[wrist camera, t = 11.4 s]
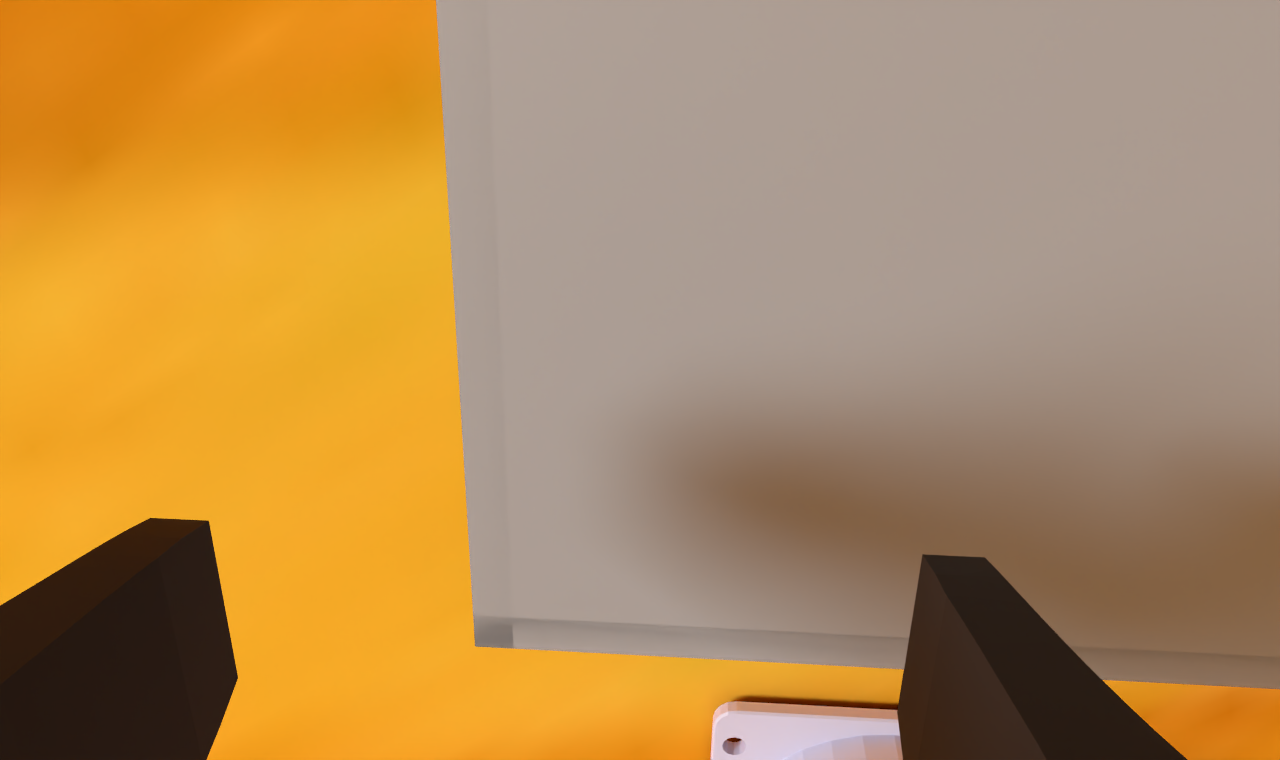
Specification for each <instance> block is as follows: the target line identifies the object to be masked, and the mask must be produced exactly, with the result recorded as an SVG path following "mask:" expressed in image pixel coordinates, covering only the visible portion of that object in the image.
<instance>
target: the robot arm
mask: <svg viewBox="0 0 1280 760" xmlns="http://www.w3.org/2000/svg"><path fill="white" fill-rule="evenodd" d="M237 679H238V676H237V670H236V665H235V659H234V654H233V649H232V643H231V638H230V633H229V627H228V622H227V617H226V611H225V606H224V601H223V595H222V590H221V584H220V579H219V574H218V568H217V563H216V558H215V552H214V547H213V542H212V536H211V531H210V525H209V521H202V520H181V519H159V518H150V519H148V520H146V521H144V522H142V523H140V524H138V525H136V526H134V527H132V528H130V529H128V530H126V531H124V532H123V533H121V534H119V535H117V536H116V537H114V538H112V539H110V540H109V541H107V542H105V543H103V544H102V545H100V546H98V547H97V548H95V549H93V550H92V551H90V552H88V553H87V554H85V555H83V556H82V557H80V558H78V559H77V560H75V561H73V562H72V563H70V564H68V565H67V566H65V567H63V568H62V569H60V570H59V571H57V572H55V573H54V574H52V575H50V576H49V577H47V578H45V579H44V580H42V581H40V582H39V583H37V584H35V585H34V586H32V587H31V588H29V589H27V590H26V591H24V592H22V593H21V594H19V595H17V596H16V597H14V598H12V599H11V600H9V601H7V602H6V603H4V604H2V605H1V606H0V760H206V759H207V757H208V754H209V752H210V749H211V747H212V745H213V742H214V740H215V737H216V735H217V732H218V730H219V727H220V725H221V722H222V719H223V717H224V714H225V711H226V709H227V706H228V703H229V700H230V698H231V695H232V692H233V690H234V687H235V684H236V682H237ZM733 737H736V738H740V739H742V740H741V741H739V742H730V741H727V739H728V738H733ZM710 760H1187V759H1186V758H1185V757H1184V756H1183V755H1182V754H1180V753H1179V752H1178V751H1177V750H1176V749H1175V748H1174V747H1173V746H1171V745H1170V744H1169V743H1168V742H1167V741H1166V740H1165V739H1164V738H1162V737H1161V736H1160V735H1159V734H1158V733H1157V732H1156V731H1155V730H1153V729H1152V728H1151V727H1150V726H1149V725H1148V724H1147V723H1146V722H1145V721H1144V720H1143V719H1142V718H1141V717H1140V716H1139V715H1138V714H1137V713H1135V712H1134V711H1133V710H1132V709H1131V708H1130V707H1129V706H1128V705H1127V704H1126V703H1125V702H1124V701H1123V700H1122V699H1121V698H1120V697H1119V696H1118V695H1117V694H1116V693H1115V692H1114V691H1113V690H1112V689H1111V688H1110V687H1109V686H1107V685H1106V684H1105V683H1104V682H1103V680H1102V679H1101V678H1100V677H1099V676H1098V675H1097V674H1096V673H1095V672H1094V671H1093V670H1092V669H1091V668H1090V667H1089V666H1088V665H1087V664H1086V663H1085V662H1084V661H1083V660H1082V659H1081V658H1080V657H1079V656H1078V655H1077V654H1076V653H1075V652H1074V651H1073V650H1072V649H1071V648H1070V647H1069V646H1068V645H1067V644H1066V643H1065V642H1064V641H1063V640H1062V639H1061V638H1060V637H1059V635H1058V634H1057V633H1056V632H1055V631H1054V630H1053V629H1052V628H1051V627H1050V626H1049V625H1048V624H1047V623H1046V622H1045V621H1044V620H1043V619H1042V618H1041V616H1040V615H1039V614H1038V613H1037V612H1036V611H1035V610H1034V609H1033V608H1032V607H1031V606H1030V605H1029V604H1028V603H1027V601H1026V600H1025V599H1024V598H1023V597H1022V596H1021V595H1020V594H1019V593H1018V592H1017V591H1016V590H1015V589H1014V587H1013V586H1012V585H1011V584H1010V583H1009V582H1008V581H1007V580H1006V579H1005V578H1004V577H1003V576H1002V575H1001V573H1000V572H999V571H998V570H997V569H996V568H995V567H994V566H993V565H992V564H991V563H990V562H989V561H988V560H987V559H986V558H985V557H967V556H946V555H925V554H922V560H921V566H920V573H919V579H918V585H917V592H916V598H915V604H914V610H913V617H912V623H911V629H910V636H909V642H908V648H907V654H906V661H905V667H904V673H903V680H902V686H901V692H900V698H899V705H898V710H887V709H868V708H850V707H832V706H814V705H795V704H777V703H759V702H741V701H734V702H727V703H725V704H722V705H720V706H719V707H718V708H717V709H716V710H715V713H714V716H713V726H712V742H711V759H710Z"/></svg>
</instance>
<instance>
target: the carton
mask: <svg viewBox="0 0 1280 760" xmlns="http://www.w3.org/2000/svg"><path fill="white" fill-rule="evenodd" d="M436 5H437V22H438V38H439V55H440V71H441V88H442V105H443V121H444V138H445V154H446V171H447V187H448V204H449V220H450V237H451V253H452V270H453V286H454V303H455V320H456V336H457V353H458V369H459V386H460V402H461V419H462V435H463V452H464V468H465V485H466V501H467V518H468V535H469V551H470V568H471V584H472V601H473V617H474V634H475V646H478V647H497V648H515V649H534V650H553V651H572V652H591V653H610V654H628V655H647V656H666V657H685V658H704V659H723V660H741V661H760V662H779V663H798V664H817V665H836V666H855V667H873V668H892V669H904V667H905V661H906V654H907V648H908V642H909V636H910V629H911V623H912V617H913V610H914V604H915V598H916V592H917V585H918V579H919V573H920V566H921V560H922V554H925V555H946V556H967V557H985V558H986V559H987V560H988V561H989V562H990V563H991V564H992V565H993V566H994V567H995V568H996V569H997V570H998V571H999V572H1000V573H1001V575H1002V576H1003V577H1004V578H1005V579H1006V580H1007V581H1008V582H1009V583H1010V584H1011V585H1012V586H1013V587H1014V589H1015V590H1016V591H1017V592H1018V593H1019V594H1020V595H1021V596H1022V597H1023V598H1024V599H1025V600H1026V601H1027V603H1028V604H1029V605H1030V606H1031V607H1032V608H1033V609H1034V610H1035V611H1036V612H1037V613H1038V614H1039V615H1040V616H1041V618H1042V619H1043V620H1044V621H1045V622H1046V623H1047V624H1048V625H1049V626H1050V627H1051V628H1052V629H1053V630H1054V631H1055V632H1056V633H1057V634H1058V635H1059V637H1060V638H1061V639H1062V640H1063V641H1064V642H1065V643H1066V644H1067V645H1068V646H1069V647H1070V648H1071V649H1072V650H1073V651H1074V652H1075V653H1076V654H1077V655H1078V656H1079V657H1080V658H1081V659H1082V660H1083V661H1084V662H1085V663H1086V664H1087V665H1088V666H1089V667H1090V668H1091V669H1092V670H1093V671H1094V672H1095V673H1096V674H1097V675H1098V676H1099V677H1100V678H1101V679H1102V680H1118V681H1137V682H1156V683H1175V684H1194V685H1212V686H1231V687H1250V688H1269V689H1280V0H436Z"/></svg>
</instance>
